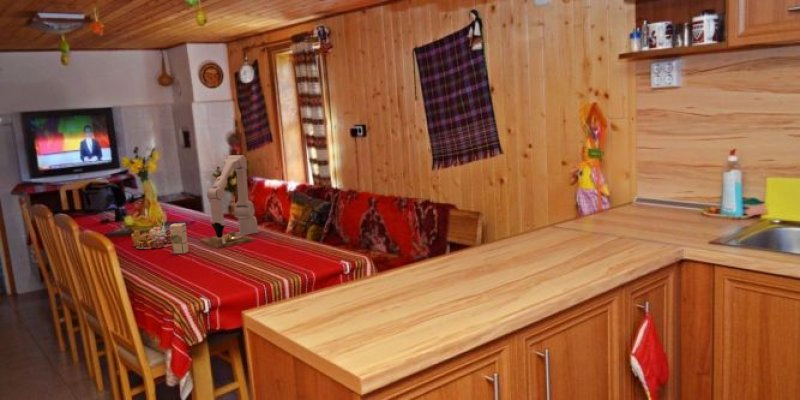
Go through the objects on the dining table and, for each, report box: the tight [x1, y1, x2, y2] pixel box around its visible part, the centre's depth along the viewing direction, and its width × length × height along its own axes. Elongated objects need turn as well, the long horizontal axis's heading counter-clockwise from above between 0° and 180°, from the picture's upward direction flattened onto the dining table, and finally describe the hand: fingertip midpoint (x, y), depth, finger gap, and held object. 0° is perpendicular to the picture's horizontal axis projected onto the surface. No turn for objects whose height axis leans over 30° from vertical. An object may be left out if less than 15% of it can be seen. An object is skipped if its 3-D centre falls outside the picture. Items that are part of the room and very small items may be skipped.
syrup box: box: [169, 222, 189, 255], centre depth 307 cm, size 6×6×14 cm
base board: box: [199, 231, 255, 249], centre depth 327 cm, size 20×22×2 cm
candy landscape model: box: [130, 226, 172, 250], centre depth 329 cm, size 25×24×9 cm
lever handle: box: [221, 231, 243, 244], centre depth 323 cm, size 18×11×3 cm, turn 176°
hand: (219, 237), depth 321 cm, fingers closed
